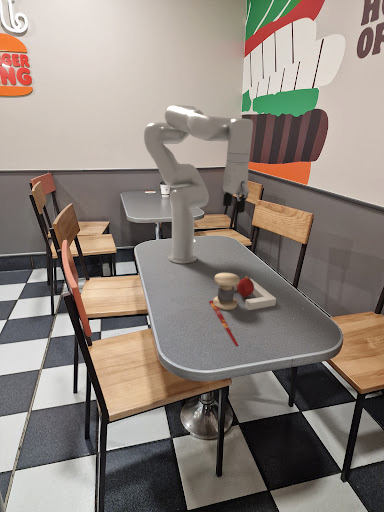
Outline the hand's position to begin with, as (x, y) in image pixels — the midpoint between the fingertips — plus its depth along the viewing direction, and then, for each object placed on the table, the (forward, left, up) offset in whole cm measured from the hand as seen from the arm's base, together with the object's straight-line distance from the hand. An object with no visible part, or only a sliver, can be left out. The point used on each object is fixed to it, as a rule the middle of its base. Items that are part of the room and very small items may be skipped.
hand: (233, 209), depth 112 cm
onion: (+15, -1, -28) cm, 31 cm away
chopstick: (+26, -14, -28) cm, 41 cm away
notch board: (+15, +1, -28) cm, 31 cm away
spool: (+17, -9, -28) cm, 34 cm away
